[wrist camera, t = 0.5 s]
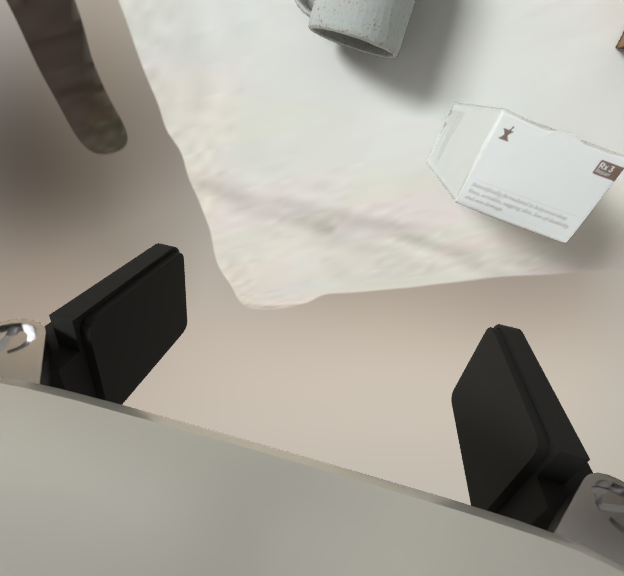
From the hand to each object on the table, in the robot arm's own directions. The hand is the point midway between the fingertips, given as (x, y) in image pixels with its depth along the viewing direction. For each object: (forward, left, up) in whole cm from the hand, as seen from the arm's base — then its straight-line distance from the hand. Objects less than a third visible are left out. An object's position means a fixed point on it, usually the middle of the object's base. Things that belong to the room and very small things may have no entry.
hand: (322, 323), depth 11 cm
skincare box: (-3, +10, -30) cm, 31 cm away
